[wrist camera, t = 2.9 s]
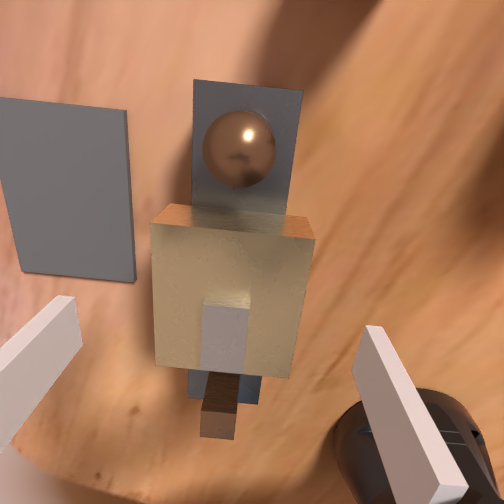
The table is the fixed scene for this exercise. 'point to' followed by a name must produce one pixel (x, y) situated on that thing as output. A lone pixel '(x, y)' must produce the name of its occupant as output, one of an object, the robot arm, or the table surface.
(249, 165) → the plane body
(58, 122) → the rubber mat
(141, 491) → the table surface
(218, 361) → the lever cap
